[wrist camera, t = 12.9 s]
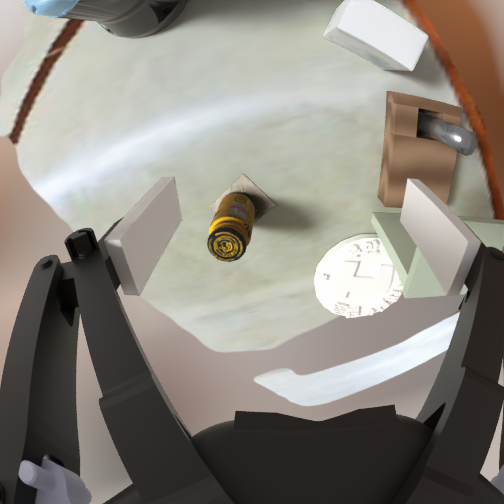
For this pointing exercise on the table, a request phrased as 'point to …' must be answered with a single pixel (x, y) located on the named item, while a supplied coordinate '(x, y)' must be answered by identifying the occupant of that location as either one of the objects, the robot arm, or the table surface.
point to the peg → (447, 133)
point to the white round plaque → (357, 277)
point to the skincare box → (376, 34)
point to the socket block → (415, 149)
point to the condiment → (236, 219)
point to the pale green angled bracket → (411, 259)
